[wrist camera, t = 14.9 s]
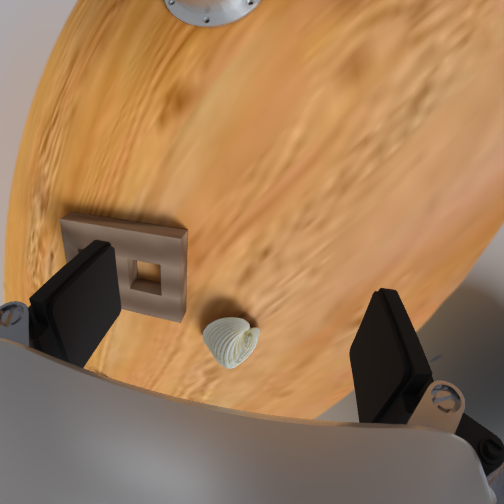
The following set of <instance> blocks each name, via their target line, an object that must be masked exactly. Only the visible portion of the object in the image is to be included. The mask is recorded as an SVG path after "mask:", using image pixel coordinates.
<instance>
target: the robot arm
mask: <svg viewBox="0 0 504 504" xmlns="http://www.w3.org/2000/svg"><path fill="white" fill-rule="evenodd" d="M164 1H165V4H166V6H167V8H168V9H169V11H170V12H171V13H172V14H173V15H174V16H175V17H176V18H178V19H179V20H181V21H182V22H185V23H187V24H189V25H193V26H197V27H209V28H210V27H220V26H224V25H228V24H231V23H233V22H236V21H238V20H240V19H242V18H244V17H245V16H247V15H248V14H250V13H251V12H252V11H253V10H254V9H255V8H256V7H257V6H258V5H259V4H260V2H261V1H262V0H164ZM173 3H174V4H173ZM249 3H253V4H252V5H249ZM172 4H173V5H172ZM207 20H209V22H208V23H206V21H207ZM29 300H30V303H31V305H30V306H29V307H27V306H26V305H25V304H24V303H22V302H18V301H15V302H9V303H6V304H4V305H2V306H0V504H504V445H503V443H502V441H501V440H500V439H499V438H498V437H497V436H496V435H495V434H493V433H492V432H490V431H489V430H487V429H486V428H485V427H483V426H482V425H480V424H479V423H477V422H476V421H475V420H473V419H472V418H470V417H468V415H466V414H465V413H463V411H464V407H465V400H464V397H463V395H462V393H461V392H460V391H459V389H458V388H456V387H455V386H454V385H453V384H451V383H448V382H446V381H435V382H434V380H433V378H432V371H431V369H430V366H429V364H428V361H427V359H426V356H425V354H424V351H423V349H422V346H421V344H420V341H419V339H418V337H417V334H416V332H415V330H414V327H413V325H412V323H411V321H410V318H409V316H408V314H407V312H406V310H405V307H404V305H403V303H402V301H401V299H400V297H399V295H398V293H397V291H396V290H392V289H385V288H380V289H379V291H375V292H374V293H373V295H372V298H371V300H370V303H369V305H368V308H367V310H366V313H365V315H364V318H363V320H362V322H361V325H360V327H359V329H358V332H357V334H356V336H355V339H354V341H353V343H352V345H351V348H350V362H351V368H352V374H353V380H354V387H355V393H356V400H357V408H358V415H359V423H352V422H336V421H322V420H309V419H299V418H290V417H281V416H273V415H266V414H259V413H253V412H246V411H240V410H235V409H229V408H224V407H218V406H213V405H209V404H204V403H199V402H195V401H190V400H186V399H182V398H178V397H174V396H170V395H166V394H162V393H158V392H155V391H151V390H148V389H144V388H141V387H137V386H134V385H131V384H128V383H124V382H121V381H118V380H115V379H112V378H109V377H106V376H103V375H100V374H97V373H95V372H92V371H89V370H86V369H84V366H85V365H86V363H87V361H88V360H89V358H90V357H91V355H92V354H93V352H94V351H95V349H96V348H97V346H98V345H99V343H100V342H101V340H102V339H103V337H104V336H105V334H106V333H107V332H108V330H109V329H110V327H111V326H112V324H113V323H114V321H115V320H116V319H117V317H118V316H119V314H120V312H121V299H120V292H119V284H118V276H117V267H116V257H115V249H114V247H112V246H111V243H110V242H107V241H102V240H94V241H93V242H91V243H90V244H89V245H88V246H87V247H85V248H84V249H83V250H82V251H81V252H80V253H78V254H77V255H76V256H75V257H74V258H73V259H72V260H70V261H69V262H68V263H67V264H66V265H65V266H64V267H62V268H61V269H60V270H59V271H58V272H57V273H56V274H55V275H54V276H53V277H51V278H50V279H49V280H48V281H47V282H46V283H45V284H44V285H43V286H42V287H41V288H40V289H39V290H38V291H37V292H36V293H34V294H33V295H32V296H31V297H30V298H29Z"/></svg>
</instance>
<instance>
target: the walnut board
mask: <svg viewBox="0 0 504 504" xmlns="http://www.w3.org/2000/svg"><path fill="white" fill-rule="evenodd" d="M60 222H61V229H62V236H63V243H64V249H65V255H66V261H67V263H68V262H69V261H70V260H72V259H73V258H74V257H75V256H76V255H77V254H78V253H80V252H81V251H82V250H83V249H84V248H85V247H87V246H88V245H89V244H90V243H91V242H93V241H94V240H102V241H107V242H110V243H111V246H112V247H114V249H115V257H116V267H117V276H118V284H119V292H120V299H121V309H124V310H128V311H132V312H136V313H140V314H144V315H149V316H153V317H157V318H161V319H166V320H170V321H175V322H179V323H181V321H182V319H183V317H184V315H185V313H186V283H187V245H188V230H186V229H180V228H173V227H167V226H160V225H154V224H147V223H141V222H134V221H128V220H121V219H115V218H108V217H101V216H95V215H88V214H81V213H74V212H71V213H69V214H67V215H66V216H64V217H63V218H61V219H60ZM137 260H138V261H143V262H148V263H153V264H158V265H161V283H157V282H152V281H148V280H143V279H138V273H137Z"/></svg>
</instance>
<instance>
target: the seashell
mask: <svg viewBox="0 0 504 504" xmlns="http://www.w3.org/2000/svg"><path fill="white" fill-rule="evenodd" d="M260 332H261V330H260V329H259V328H257V327H254V328H250V324H249V323H248V322H247V321H246V320H244V319H242V318H237V317H225V318H220V319H217V320H215V321H213V322H211V323H210V324H208V325H207V326H206V328H205V329H204V331H203V340H204V343H205V344H206V345H207V347H208V348H209V350H210V351H211V353H212V354H213V356H214V358H215V359H216V360H217V362H218V363H219V364H221V365H222V366H223V367H225V368H234V367H236V366H237V365H239V364H241V363H242V362H243V361H244V360H245V359H246V358H247V357H248V356H249V355H250V354H251V352H252V351H253V350H254V348H255V346H256V344H257V341H258V338H259V334H260Z"/></svg>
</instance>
